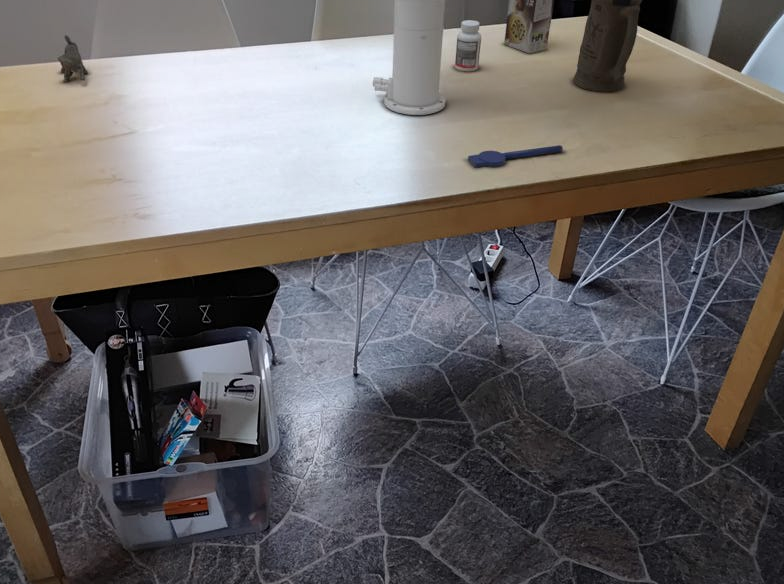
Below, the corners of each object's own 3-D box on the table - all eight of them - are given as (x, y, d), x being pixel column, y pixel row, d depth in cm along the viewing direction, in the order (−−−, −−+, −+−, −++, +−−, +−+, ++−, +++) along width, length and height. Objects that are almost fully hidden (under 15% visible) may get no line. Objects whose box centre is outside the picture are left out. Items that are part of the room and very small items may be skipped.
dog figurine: (61, 69, 162) (52, 34, 157) (88, 67, 163) (80, 32, 159) (59, 88, 153) (50, 52, 149) (88, 86, 155) (79, 50, 150)
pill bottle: (461, 62, 169) (466, 17, 162) (482, 67, 166) (487, 22, 160) (450, 68, 165) (454, 23, 159) (470, 73, 163) (475, 27, 157)
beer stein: (562, 76, 162) (583, -21, 148) (602, 70, 165) (627, -25, 151) (600, 106, 152) (627, 5, 138) (643, 99, 155) (674, 0, 141)
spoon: (477, 169, 127) (477, 163, 126) (465, 158, 130) (466, 151, 129) (568, 156, 131) (569, 150, 130) (555, 146, 134) (556, 139, 134)
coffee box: (547, 49, 176) (559, -24, 166) (528, 54, 174) (539, -20, 163) (521, 39, 182) (531, -32, 172) (502, 44, 179) (511, -29, 169)
